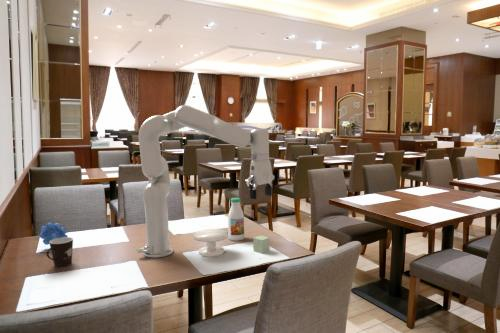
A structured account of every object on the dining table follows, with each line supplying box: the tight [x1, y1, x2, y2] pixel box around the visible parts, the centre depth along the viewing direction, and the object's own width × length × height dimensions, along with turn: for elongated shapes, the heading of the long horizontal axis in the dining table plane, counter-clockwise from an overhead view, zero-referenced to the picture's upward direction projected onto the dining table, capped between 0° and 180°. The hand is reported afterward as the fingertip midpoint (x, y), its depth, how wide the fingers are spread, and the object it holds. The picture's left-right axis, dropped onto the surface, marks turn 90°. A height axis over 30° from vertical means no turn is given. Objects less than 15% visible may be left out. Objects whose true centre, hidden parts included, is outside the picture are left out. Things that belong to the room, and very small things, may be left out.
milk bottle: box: [227, 197, 245, 242], centre depth 186 cm, size 8×8×20 cm
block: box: [252, 235, 270, 254], centre depth 169 cm, size 5×5×6 cm
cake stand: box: [193, 228, 229, 258], centre depth 168 cm, size 15×15×8 cm
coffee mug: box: [46, 236, 74, 268], centre depth 156 cm, size 12×9×10 cm
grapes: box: [38, 222, 69, 246], centre depth 178 cm, size 12×7×12 cm, turn 120°
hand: (261, 197), depth 167 cm, fingers open, 9 cm apart
